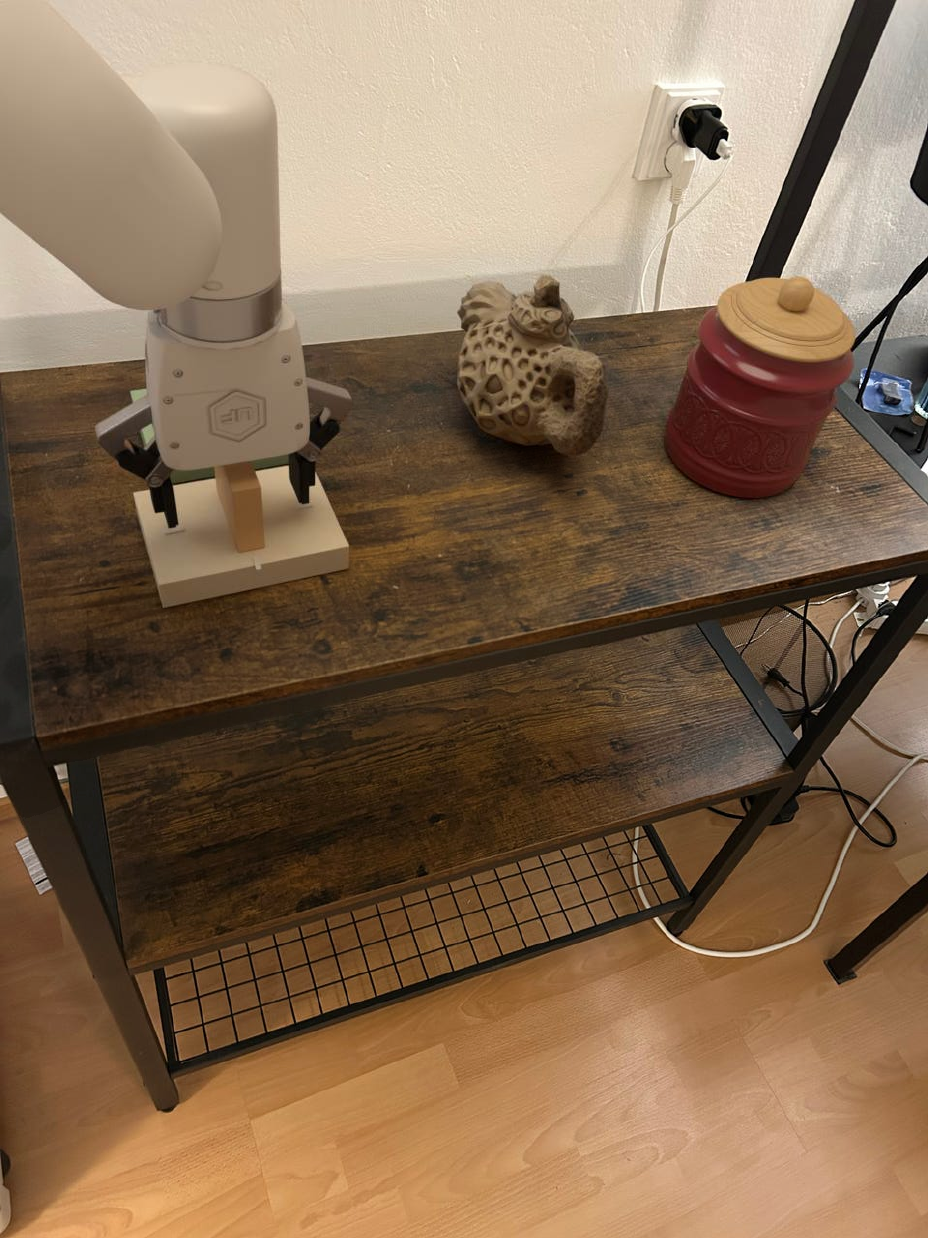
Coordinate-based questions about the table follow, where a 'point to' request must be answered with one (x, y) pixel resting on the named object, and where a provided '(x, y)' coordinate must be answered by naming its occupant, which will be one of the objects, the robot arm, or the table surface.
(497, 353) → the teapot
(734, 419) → the kitchen canister
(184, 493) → the panel
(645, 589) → the table surface
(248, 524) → the handle
